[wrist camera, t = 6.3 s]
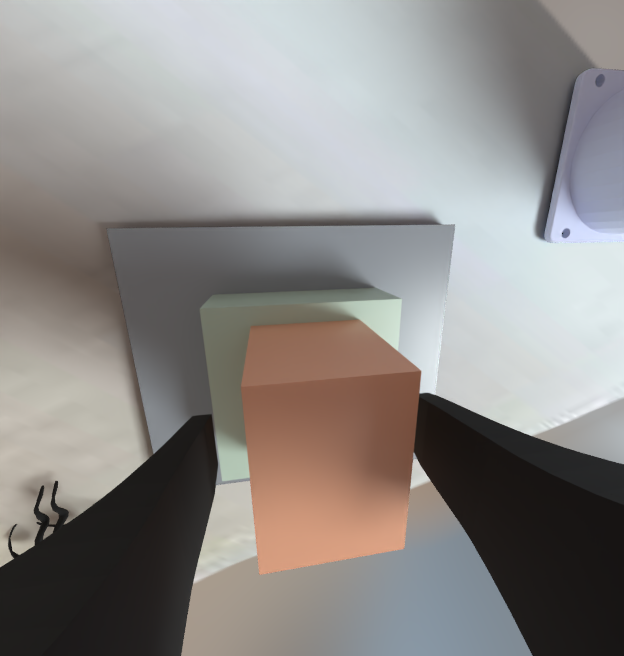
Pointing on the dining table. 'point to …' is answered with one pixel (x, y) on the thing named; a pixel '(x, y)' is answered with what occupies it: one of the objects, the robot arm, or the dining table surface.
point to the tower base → (261, 265)
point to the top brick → (327, 441)
